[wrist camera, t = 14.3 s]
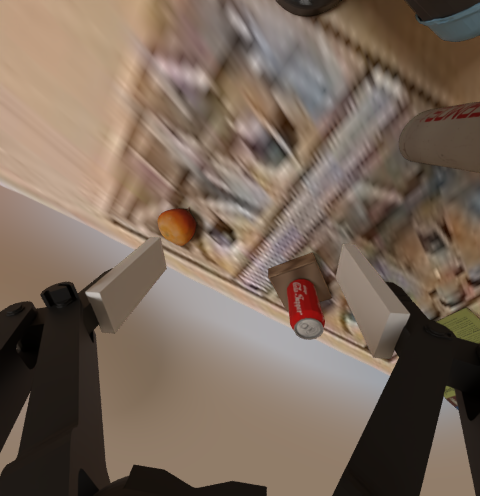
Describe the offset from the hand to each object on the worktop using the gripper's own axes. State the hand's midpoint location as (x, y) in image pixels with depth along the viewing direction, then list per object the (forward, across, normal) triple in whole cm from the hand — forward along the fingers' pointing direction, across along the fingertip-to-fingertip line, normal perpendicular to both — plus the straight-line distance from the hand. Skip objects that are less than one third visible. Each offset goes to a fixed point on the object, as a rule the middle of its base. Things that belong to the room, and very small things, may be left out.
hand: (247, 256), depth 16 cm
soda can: (+28, +10, -23) cm, 38 cm away
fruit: (+32, -18, -9) cm, 38 cm away
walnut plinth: (+32, +10, -23) cm, 40 cm away
